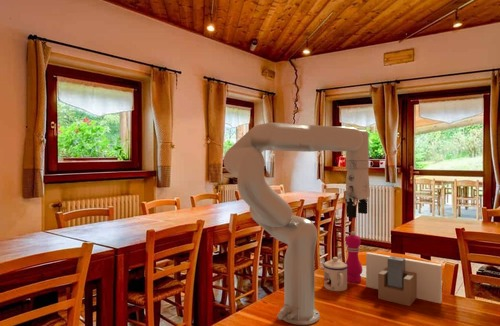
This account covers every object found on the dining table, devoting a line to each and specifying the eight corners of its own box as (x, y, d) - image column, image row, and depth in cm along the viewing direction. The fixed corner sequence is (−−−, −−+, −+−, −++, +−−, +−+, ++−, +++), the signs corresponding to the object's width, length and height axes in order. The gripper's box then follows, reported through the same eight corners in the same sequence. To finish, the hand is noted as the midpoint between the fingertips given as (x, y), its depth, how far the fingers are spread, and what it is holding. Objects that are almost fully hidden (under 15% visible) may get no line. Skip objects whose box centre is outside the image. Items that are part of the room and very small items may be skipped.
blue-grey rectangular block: (402, 289, 126) (402, 260, 126) (387, 286, 129) (387, 258, 129) (405, 286, 129) (405, 258, 129) (390, 283, 132) (390, 256, 132)
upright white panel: (434, 312, 118) (434, 272, 118) (357, 293, 135) (357, 258, 134) (441, 301, 127) (441, 264, 126) (368, 285, 143) (368, 252, 143)
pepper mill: (363, 283, 145) (363, 233, 144) (344, 282, 146) (344, 232, 145) (361, 277, 152) (361, 229, 151) (343, 276, 153) (343, 229, 153)
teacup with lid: (320, 283, 145) (320, 254, 144) (342, 282, 146) (342, 253, 145) (330, 295, 133) (330, 263, 133) (354, 294, 134) (354, 262, 134)
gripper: (357, 166, 117) (357, 220, 117) (376, 165, 130) (376, 213, 131) (335, 166, 121) (336, 217, 122) (356, 165, 135) (356, 211, 135)
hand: (357, 215), depth 126 cm, fingers open, 9 cm apart
